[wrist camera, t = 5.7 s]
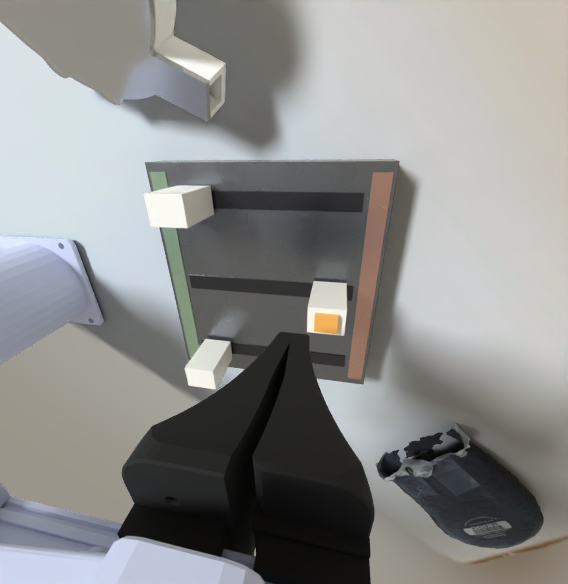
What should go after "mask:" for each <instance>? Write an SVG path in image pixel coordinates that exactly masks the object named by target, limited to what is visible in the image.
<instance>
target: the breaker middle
mask: <svg viewBox="0 0 568 584" xmlns="http://www.w3.org/2000/svg"><path fill="white" fill-rule="evenodd" d="M346 314H347V283H336V282H322V281H314V282H313V286H312V290H311V295H310V299H309V303H308V312H307V332H311V333H320V334H330V335H340V336H344V333H345V324H346Z"/></svg>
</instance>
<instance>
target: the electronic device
mask: <svg viewBox="0 0 568 584" xmlns="http://www.w3.org/2000/svg"><path fill="white" fill-rule="evenodd" d="M446 433H447V435H450V436H451V437H453V438H455V439H458V440H460V441H462V442H463V444H464V449H463V450H461V451H459V452H457V453H447V454H444V453H443V454H444V455H442V456H439V457H437V458H435V459H433V460H432V461H431V462H428V461H425V460H418V459H420V458H421V456H422V455H421V456H418V457H416V458H413V459H404V461H403V463H401V462H400V461H399V460H400V458H399V456H398V455H397V453H398V451H399V450H396V451H393V452H391V453H390V454H388V453H387V452H385V454H384V455H383V456H382V458H381V459H380V461H379V463H377V464H376V467H377V469H378V473H379V476H380V477H381V478H382V479H383V480H384V481H393V482H394V483H396V484H397V485H398V486H399V487H400V488H401V489H402V490H403V491H404V492H405V493H406V494H408V495H409V496H410V497H412V498H413V499H414V500H415V501H416V502H417V503H418V504H420V505H421V507H422V508H424V510H425V511H426V512H427V513H428V514H429V515H430V517H431V518H432V519H433V521H434V522H435V523H436V524H437V526H438V527H439V528H441V529H442V530H443V531H444V533H446V534H447V535H449V536H450V537H452V538H455V539H458V540H460V541H462V542H464V543H466V544H470V545H474V546H479V547H487V548H496V549H498V548H508V547H512V546H515V545H518V544H521V543H523V542H524V541H526V540H528V539H530V538H532V537H533V536H535V535H536V534H537V533H538V532H539V530H540V529H541V527H542V524H543V515H542V513H541V511H540V507H539V505H538V503H537V501H536V499H535V497H534V496H533V495H532V494H531V493H530V491H529V490H528V489H527V488H526V487H525V486H524V485H523V484H521V483H520V482H519V481H518V479H517V478H516V477H515V476H513V475H512V474H511V473H510V472H509V471H507V470H506V469H505V468H504V467H502V466H501V465H500V464H499V463H498V462H497V461H496V460H494V459H493V458H492V457H491V456H490V455H489V454H487V453H485V452H484V451H482V450H481V449H479V448H477V447H476V446H475V445H473V444H472V443H470V442H469V441H470V438H469V437H468V436H467V435H466V434H465V433H464V432H463V431H462V430H461V429H460V428H459V427H458V426H457V425H456V423H455V424H454V426H453V427H452V429H451V430H450V431H448V432H446ZM442 434H443V433H437V434H435V435H432V436H426V437H422V438H420V441H412V442H410V443H409V445H408V446H407V447H405V448H404V450H405V451H408V452H406V455H407V457H406V458H408V457H411V456H414V455H417V454H419V452H422V451H427V450H428V452H427V453H428V454H432V453H434V451H433V449H432V447H433V446H434V445H435V444H441V443H442V442H443V441H441V440H439V439H440V437H441V435H442Z"/></svg>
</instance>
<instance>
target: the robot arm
mask: <svg viewBox="0 0 568 584" xmlns="http://www.w3.org/2000/svg"><path fill="white" fill-rule="evenodd" d="M68 322H71V323H80V324H89V325H97V326H99V325H101V324H102V323H104V319H103V317H102V314H101V311H100V308H99V306H98V303H97V300H96V298H95V295H94V292H93V290H92V287H91V284H90V282H89V279H88V276H87V274H86V271H85V268H84V266H83V263H82V260H81V258H80V255H79V252H78V250H77V247H76V245H75V243H74V242H73V241H72V240H70V239H58V238H39V237H19V236H0V365H2V364H3V363H5V362H7V361H8V360H10V359H11V358H13V357H14V356H16V355H17V354H19V353H21V352H22V351H24V350H25V349H27V348H28V347H30V346H32V345H33V344H35V343H36V342H38V341H40V340H41V339H43V338H44V337H46V336H47V335H49V334H51V333H52V332H53V331H55V330H57V329H58V328H60V327H62V326H63V325H65V324H66V323H68ZM309 345H310V337H309V335H308V334H299V333H289V332H279V333H278V334H277V336H276V337H275V338H274V339H273V341H272V342H271V343H270V344H269V345H268V346H267V348H266V349H265V350H264V351H263V352H262V353H261V354H260V355H259V356H258V357H257V358H256V359H255V360H254V361H253V362H252V363H251V364H250V365H249V366H248V367H247V368H246V369H245V370H244V371H243V372H242V373H240V374H239V375H238V376H237V377H236V378H234V379H233V380H232V381H231V382H229V383H228V384H227V385H225V386H224V387H223V388H221V389H220V390H218V391H217V392H216V393H214V394H213V395H211V396H210V397H208V398H207V399H205V400H203V401H202V402H200V403H198V404H196V405H195V406H193V407H191V408H189V409H187V410H185V411H184V412H182V413H180V414H178V415H176V416H173V417H171V418H169V419H167V420H165V421H163V422H160V423H158V424H156V425H154V426H152V427H151V428H150V430H149V431H148V432H147V433H146V435H145V436H144V437H143V439H142V440H141V441H140V443H139V444H138V445H137V447H136V448H135V450H134V451H133V453H132V454H131V456H130V457H129V459H128V460H127V461H126V463H125V464H124V466H123V468H122V477H123V480H124V483H125V485H126V487H127V489H128V491H129V493H130V495H131V497H132V499H133V501H134V503H135V504H134V506H133V507H132V509H131V511H130V512H129V514H128V516H127V518H126V519H125V521H124V523H123V524H122V523H118V522H114V521H110V520H106V519H102V518H98V517H94V516H90V515H86V514H82V513H77V512H74V511H70V510H66V509H62V508H57V507H53V506H50V505H45V504H41V503H37V502H33V501H29V500H25V499H21V498H17V497H13V496H10V493H9V492H8V490H7V489H6V488H5V486H3V485H2V484H1V483H0V584H371V582H370V566H369V558H370V539H369V536H370V532H371V528H372V525H373V521H374V505H373V499H372V495H371V491H370V487H369V484H368V481H367V478H366V475H365V472H364V469H363V466H362V463H361V462H360V460H359V459H358V457H357V456H356V454H355V453H354V452H353V450H352V449H351V447H350V446H349V444H348V443H347V441H346V439H345V438H344V436H343V434H342V433H341V431H340V430H339V428H338V426H337V424H336V422H335V420H334V418H333V417H332V415H331V413H330V411H329V409H328V407H327V405H326V402H325V400H324V398H323V395H322V393H321V391H320V388H319V385H318V382H317V379H316V376H315V373H314V369H313V365H312V361H311V356H310V350H309ZM255 548H256V557H255V556H254V550H255Z"/></svg>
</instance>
